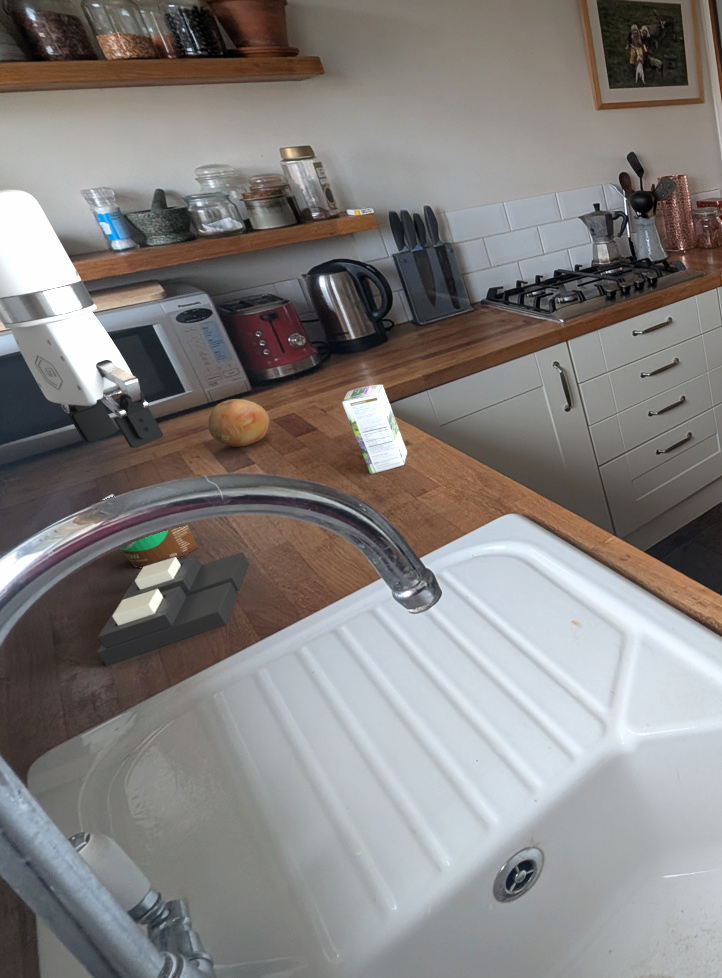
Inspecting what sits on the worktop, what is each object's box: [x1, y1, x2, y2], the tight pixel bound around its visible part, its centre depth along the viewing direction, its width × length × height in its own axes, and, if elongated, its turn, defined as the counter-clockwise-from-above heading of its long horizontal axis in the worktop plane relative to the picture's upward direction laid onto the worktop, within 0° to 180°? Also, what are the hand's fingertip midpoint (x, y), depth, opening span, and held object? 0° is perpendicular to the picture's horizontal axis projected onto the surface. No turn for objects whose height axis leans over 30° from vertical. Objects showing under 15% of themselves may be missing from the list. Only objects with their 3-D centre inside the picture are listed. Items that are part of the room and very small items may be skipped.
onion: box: [208, 398, 270, 448], centre depth 139 cm, size 10×10×10 cm
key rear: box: [134, 557, 182, 590], centre depth 91 cm, size 4×4×2 cm
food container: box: [101, 493, 199, 567], centre depth 100 cm, size 12×6×10 cm, turn 80°
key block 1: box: [121, 552, 250, 601], centre depth 92 cm, size 12×7×4 cm, turn 118°
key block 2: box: [96, 582, 239, 667], centre depth 86 cm, size 12×7×4 cm, turn 118°
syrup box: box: [341, 384, 408, 475], centre depth 121 cm, size 6×6×14 cm
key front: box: [112, 589, 164, 626], centre depth 84 cm, size 4×4×2 cm
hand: (124, 439), depth 83 cm, fingers open, 9 cm apart
